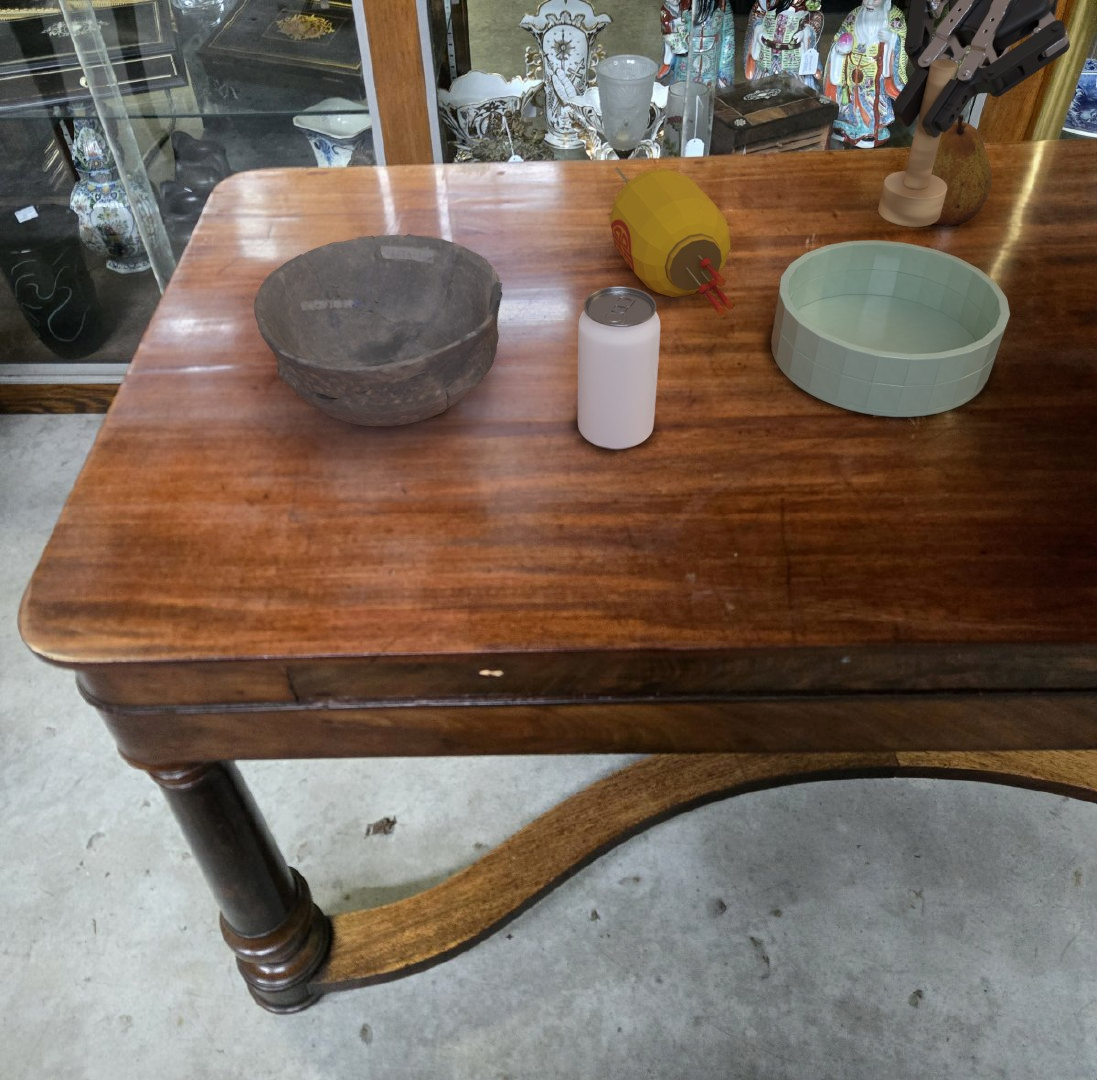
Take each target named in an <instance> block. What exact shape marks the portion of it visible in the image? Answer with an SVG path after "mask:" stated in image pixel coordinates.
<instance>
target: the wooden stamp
mask: <svg viewBox="0 0 1097 1080" xmlns="http://www.w3.org/2000/svg"><path fill="white" fill-rule="evenodd" d="M958 70H959V63H958V62H957V61H952V60H948V59H936V60H933V61H932V62H931V65H930V69H929V74H928V78H927V82H926V86H925V91H924V95H923V99H922V104H921V108H920V112H919V114H918V116H917V122H916V125H915V129H914V134H913V138H912V142H911V147H910V150H909V151H910V152H909V156H908V160H907V164H906V168H905V170H900V171H896V172H892V173H890V174H889V175H886V177H885V178H884V180H883V185H882V189H881V193H880V197H879V203H878V206H877V207H878V208H877V211H878V214H879V215H880V217H882V218H883V219H884V220H886V221H888V222H889V223H892V224H895V225H898V226H903V227H909V228H921V227H928V226H931V225H933V224H935V222H936V221H938V219H939V218H940V215H941V211H942V207H943V204H944V200H945V196H946V192H947V185H946V183H945V182H944V181H943V180H942V179H940V178H939V177H937V176H935V175H932V174H931V173H932V169H933V165H934V161H935V158H936V154H937V150H938V146H939V142H940V138H941V134H942V132H941V133H940V135H939V136H938V137H936V138H934V137H932V136H929V135H927V134H926V132H925V130H924V128H923V127H922V121H923V119H924V117H925V115H926V114H927V112H928V111H929V110H930V108H931V107H932V105H933V104H934V102H935V101H936V99H937V98H938V96H939V95H940V93H941V92H942V90H943V89H944V87H945V86H946V85H947V83H948V82H949V80H950V79H953V80H956V78H957V73H958Z"/></svg>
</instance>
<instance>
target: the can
mask: <svg viewBox="0 0 1097 1080" xmlns="http://www.w3.org/2000/svg"><path fill="white" fill-rule="evenodd" d="M660 340H661V319H660V317H659V314H658V313H657V303H656V301H655V299H654V298H653V297H652V295H650V294H649V293H647V292H645V291H644V290H641V289H638V288H635V287H630V286H608V287H604V288H601V289H598V290H595V291H594V292H591V293H590V294H589V295H588V296H587V297H586V298H585V300H584V301H583V311H582V312H581V314H580V316H579V319H578V325H577V427H578V431H579V433H580V435H582V437H583V438H584V439H585V440H586V441H588V442H589V443H590V444H591V445H593V446H596V447H598V448H601V449H607V450H615V451H616V450H617V451H618V450H619V451H620V450H629V449H631V448H635V447H638V446H639V445H641V444H642V443H643V442H645V441H646V440H647V439H648V438H649V437H650V436H651V434H652V433H653V432H654V431H653V430H654V426H655V415H656V413H655V412H656V402H657V401H656V400H657V388H658V387H657V386H658V373H659V372H658V370H659V356H660V343H661V341H660Z"/></svg>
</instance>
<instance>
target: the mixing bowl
mask: <svg viewBox="0 0 1097 1080" xmlns="http://www.w3.org/2000/svg"><path fill="white" fill-rule="evenodd" d="M775 305H776V306H775V310H774V311H775V312H774V318H773V325H772V331H771V332H772V333H771V339H770V349H771V353H772V356H773V359H774V361H775V363H776V365H777V366H778V368H779V369H780V371H781V372H782V373H783V374H784V376H786V377H787V378H788V380H789V381H791V382H792V383H793V384H794V385H795V386H797V387H798V388H800V389H801V390H803V391H804V392H806V393H808V394H809V395H811V396H813V397H815V398H817V399H819V400H820V401H823V402H826V403H828V404H831V405H833V406H835V407H839V408H842V409H844V410H848V411H852V412H856V413H861V414H864V415H865V414H866V415H873V416H880V417H890V418H892V417H893V418H913V417H925V416H931V415H935V414H940V413H944V412H947V411H951V410H953V409H956V408H958V407H961V406H962V405H965V404H966V403H968V402H970V401H971V400H972V399H974V398H975V397H976V396H977V395H979V394H980V392H981V391H982V390H983V389H984V388H985V386H986V384H987V382H988V380H989V378H990V374H991V372H992V369H993V367H994V363H995V361H996V358H997V355H998V352H999V349H1000V346H1001V343H1002V340H1003V337H1004V334H1005V332H1006V328H1007V326H1008V323H1009V320H1010V316H1011V312H1010V307H1009V302H1008V298H1007V296H1006V295H1005V293H1004V291H1003V290H1002V289H1001V287H1000V286H999V284H998V283H997V282H996V281H995V280H993V278H991V276H988V275H987V274H986V273H985V272H984V271H982V270H981V269H980V268H978V267H976V266H974V265H973V264H971V263H969V262H968V261H965V260H963V259H961V258H959V257H957V256H956V255H952V254H949V253H946V252H944V251H941V250H938V249H935V248H933V247H926V246H922V245H917V244H913V243H908V242H902V241H891V240H881V239H880V240H879V239H878V240H877V239H869V240H867V239H866V240H848V241H843V242H837V243H832V244H827V245H823V246H821V247H818V248H815V249H813V250H810V251H807V252H805V253H804V254H802V255H801V256H799V257H798V258H796V259H795V260H794V261H792V262H791V263H789V265H788V266H787V268H786V269H785V271H784V272H783V273H782V275H781V277H780V281H779V286H778V292H777V299H776V304H775Z"/></svg>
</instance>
